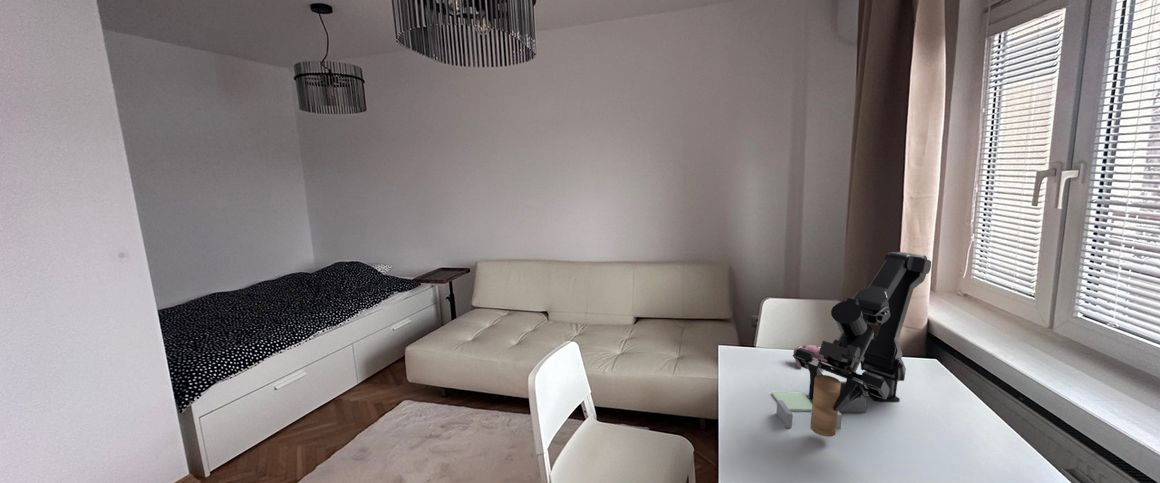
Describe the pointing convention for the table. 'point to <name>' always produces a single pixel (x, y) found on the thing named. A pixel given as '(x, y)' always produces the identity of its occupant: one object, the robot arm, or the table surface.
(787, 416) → the channel
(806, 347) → the video game controller
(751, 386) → the table surface
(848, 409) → the gray open box
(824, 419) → the walnut post
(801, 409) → the pad
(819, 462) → the table surface
